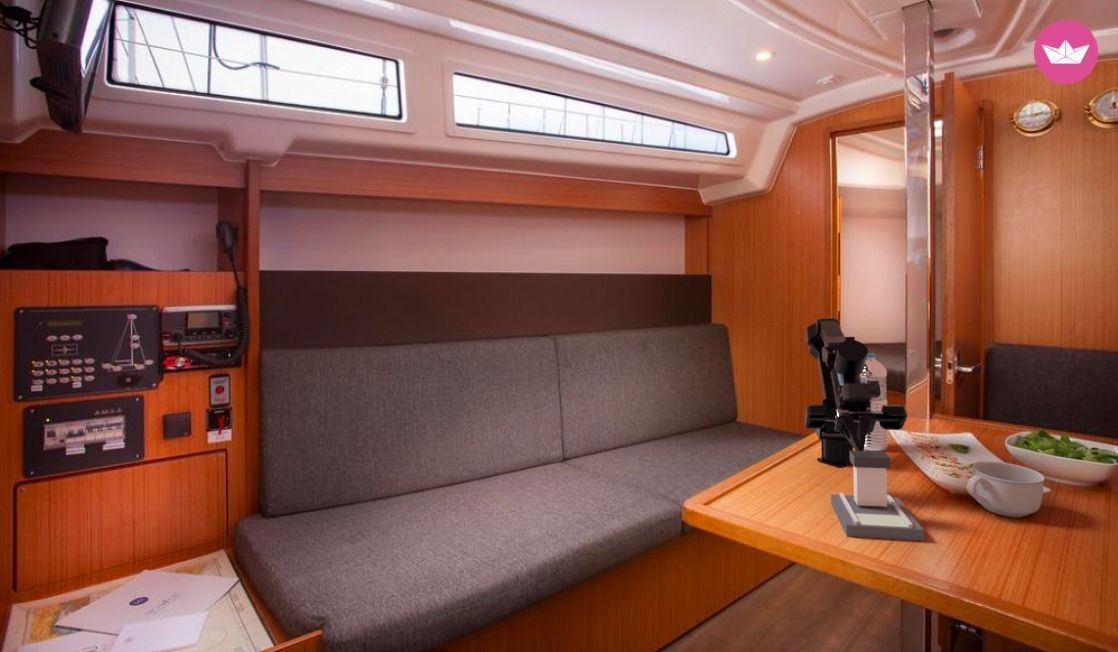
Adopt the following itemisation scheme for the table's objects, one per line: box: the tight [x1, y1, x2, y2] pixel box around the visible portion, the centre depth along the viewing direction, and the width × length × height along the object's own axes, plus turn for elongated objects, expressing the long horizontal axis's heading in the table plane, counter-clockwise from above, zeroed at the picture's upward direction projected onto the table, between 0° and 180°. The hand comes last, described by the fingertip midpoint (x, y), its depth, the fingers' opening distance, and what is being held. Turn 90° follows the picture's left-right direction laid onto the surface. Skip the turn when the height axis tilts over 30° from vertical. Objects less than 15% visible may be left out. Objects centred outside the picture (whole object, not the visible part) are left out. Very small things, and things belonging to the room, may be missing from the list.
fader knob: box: [850, 450, 891, 507], centre depth 108 cm, size 4×6×10 cm, turn 74°
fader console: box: [830, 492, 925, 542], centre depth 106 cm, size 15×12×3 cm
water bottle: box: [860, 353, 889, 452], centre depth 149 cm, size 7×7×25 cm
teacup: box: [966, 461, 1046, 518], centre depth 107 cm, size 14×11×8 cm
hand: (860, 453), depth 115 cm, fingers closed
